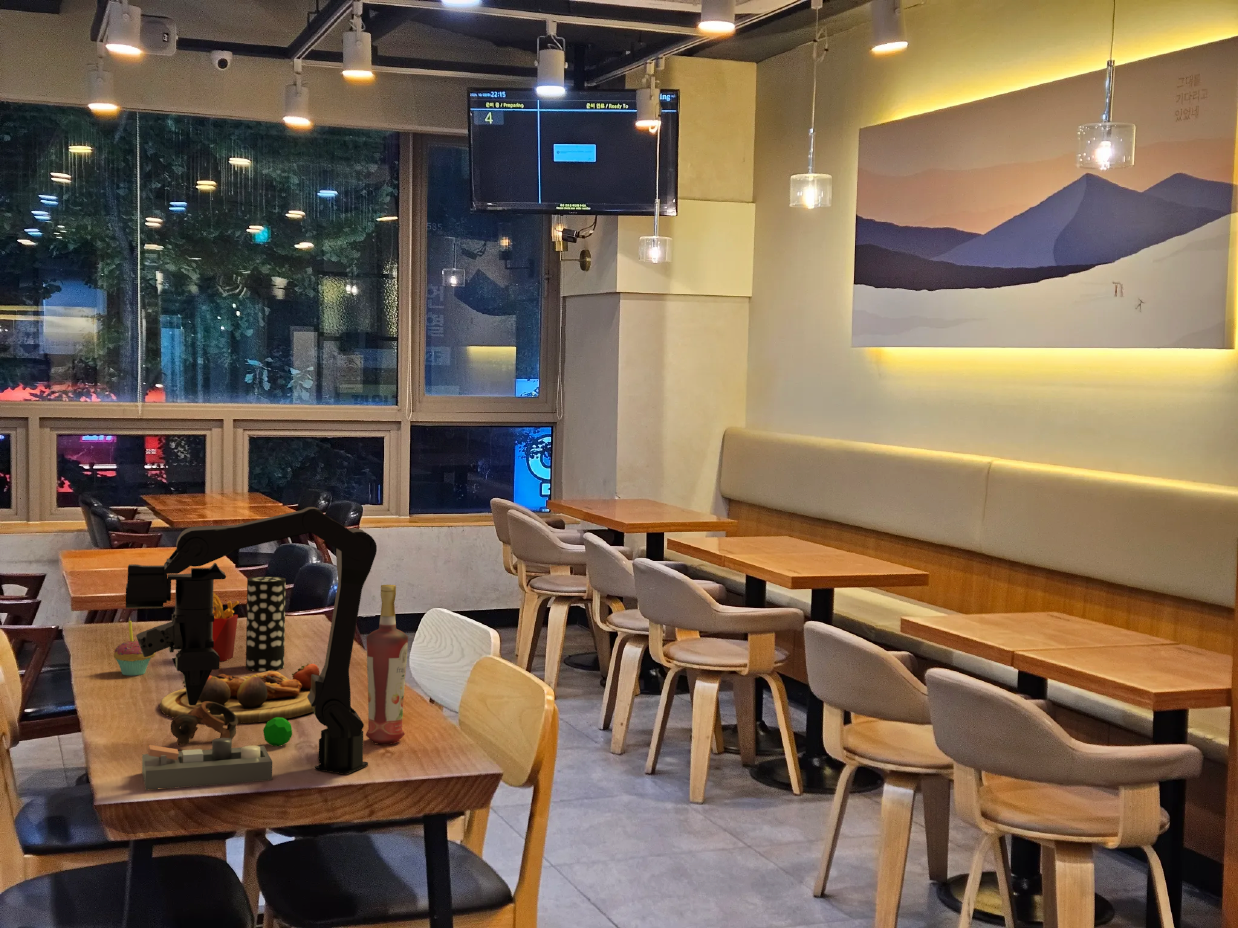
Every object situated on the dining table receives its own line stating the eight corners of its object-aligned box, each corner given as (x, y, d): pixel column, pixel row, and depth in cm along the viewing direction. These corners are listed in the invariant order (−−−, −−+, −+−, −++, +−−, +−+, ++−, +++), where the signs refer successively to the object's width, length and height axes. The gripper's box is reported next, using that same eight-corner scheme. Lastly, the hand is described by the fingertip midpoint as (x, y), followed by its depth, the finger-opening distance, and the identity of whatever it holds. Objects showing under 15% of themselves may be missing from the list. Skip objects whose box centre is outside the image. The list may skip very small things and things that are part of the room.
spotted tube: (249, 663, 300) (250, 576, 300) (286, 664, 301) (288, 576, 300) (242, 671, 292) (244, 581, 291) (281, 671, 293) (282, 581, 292)
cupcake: (105, 673, 286) (105, 618, 285) (139, 667, 293) (139, 613, 292) (129, 679, 281) (130, 623, 280) (163, 673, 288) (164, 618, 287)
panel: (263, 763, 220) (263, 737, 219) (272, 779, 210) (272, 752, 210) (142, 772, 212) (142, 745, 212) (145, 790, 203) (146, 761, 203)
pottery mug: (200, 736, 238) (224, 698, 237) (229, 768, 233) (253, 729, 232) (148, 732, 228) (173, 692, 227) (177, 765, 223) (202, 724, 222)
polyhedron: (297, 745, 232) (298, 718, 232) (273, 750, 228) (274, 723, 228) (281, 740, 235) (281, 713, 235) (257, 744, 231) (257, 717, 231)
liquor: (398, 747, 232) (401, 589, 231) (358, 745, 233) (361, 587, 232) (411, 737, 239) (414, 584, 238) (372, 734, 240) (375, 581, 239)
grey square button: (201, 767, 212) (201, 748, 212) (202, 772, 210) (203, 753, 210) (181, 768, 211) (181, 750, 211) (183, 773, 208) (183, 755, 208)
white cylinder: (258, 763, 216) (258, 744, 216) (261, 767, 213) (261, 749, 213) (239, 764, 215) (240, 746, 215) (241, 769, 212) (242, 750, 212)
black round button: (230, 755, 214) (230, 737, 214) (232, 760, 211) (232, 741, 211) (211, 756, 213) (211, 738, 213) (212, 761, 210) (213, 742, 210)
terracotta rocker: (175, 755, 211) (177, 749, 211) (177, 759, 208) (178, 753, 208) (147, 750, 209) (149, 744, 209) (148, 755, 206) (150, 748, 206)
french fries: (238, 656, 308) (239, 592, 308) (224, 663, 300) (225, 597, 300) (202, 654, 309) (203, 591, 309) (187, 661, 301) (188, 596, 300)
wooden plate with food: (321, 686, 281) (321, 647, 280) (336, 720, 250) (336, 676, 250) (162, 695, 271) (162, 655, 271) (157, 731, 241) (157, 686, 240)
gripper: (137, 599, 215) (135, 694, 215) (143, 618, 198) (141, 721, 198) (208, 598, 219) (206, 691, 220) (220, 615, 202) (218, 717, 203)
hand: (192, 704), depth 210 cm, fingers closed
